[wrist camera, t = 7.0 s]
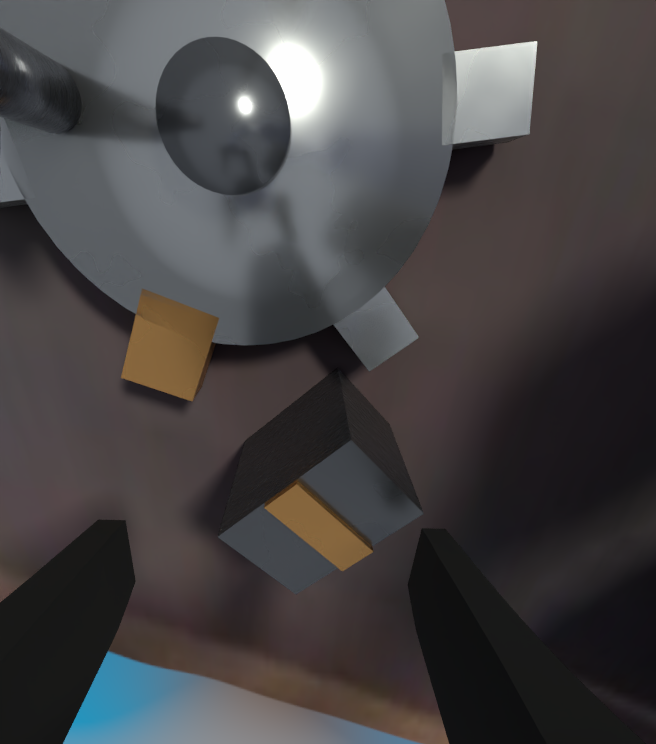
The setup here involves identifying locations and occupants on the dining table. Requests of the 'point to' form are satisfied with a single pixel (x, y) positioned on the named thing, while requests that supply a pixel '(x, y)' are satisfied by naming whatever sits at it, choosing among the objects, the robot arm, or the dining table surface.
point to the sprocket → (244, 159)
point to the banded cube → (318, 487)
